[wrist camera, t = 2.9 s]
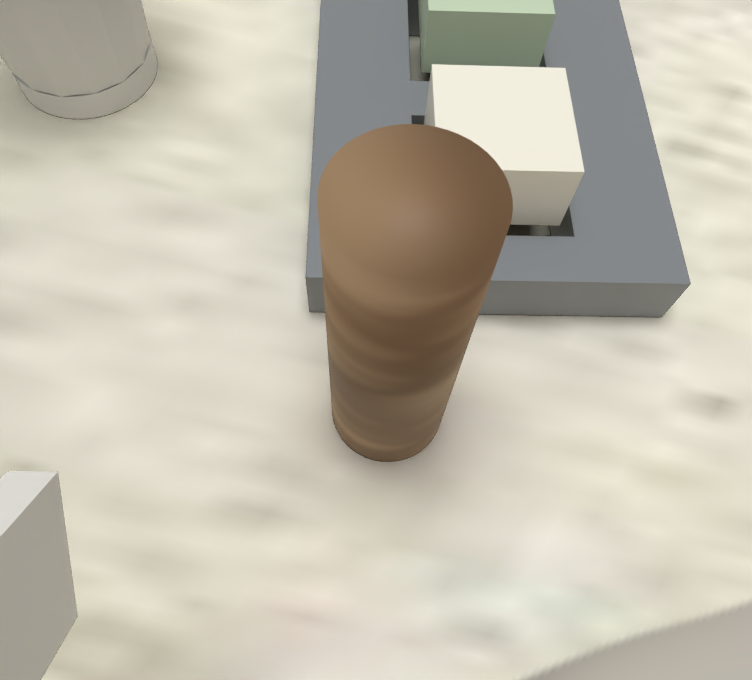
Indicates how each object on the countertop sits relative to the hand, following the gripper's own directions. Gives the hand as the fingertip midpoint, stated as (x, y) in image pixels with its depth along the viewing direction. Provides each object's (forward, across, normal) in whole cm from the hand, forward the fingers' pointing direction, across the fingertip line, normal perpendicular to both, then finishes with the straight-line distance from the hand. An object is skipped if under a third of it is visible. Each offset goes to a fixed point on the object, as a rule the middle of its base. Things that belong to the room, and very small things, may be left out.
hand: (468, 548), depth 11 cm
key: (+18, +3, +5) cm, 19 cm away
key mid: (+23, +3, +11) cm, 26 cm away
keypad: (+25, +3, +9) cm, 27 cm away
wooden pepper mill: (+13, -1, -3) cm, 14 cm away
